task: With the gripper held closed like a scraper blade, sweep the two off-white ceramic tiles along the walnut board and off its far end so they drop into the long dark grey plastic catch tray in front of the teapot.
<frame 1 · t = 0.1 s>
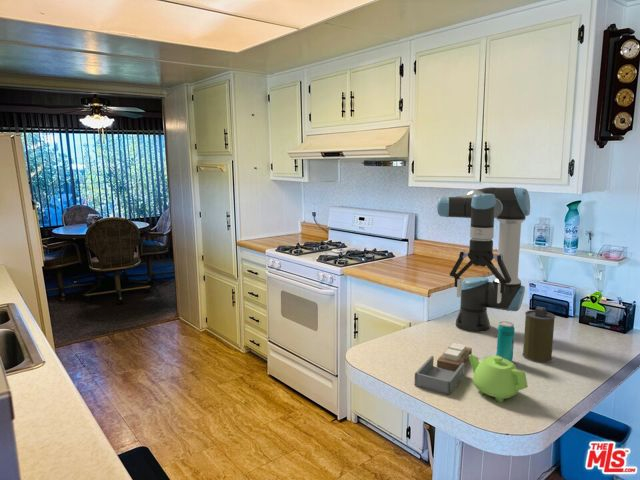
hand: (478, 299, 155), 28 cm above the counter, fingers open, 13 cm apart
tile b: (452, 357, 167), point 3 cm above the counter, touching walnut board
canister: (537, 357, 173), on the counter
teapot: (495, 393, 146), on the counter
tile a: (457, 351, 172), point 3 cm above the counter, touching walnut board
beverage can: (504, 361, 170), on the counter
walnut board: (454, 361, 170), on the counter
catch tray: (439, 380, 155), on the counter
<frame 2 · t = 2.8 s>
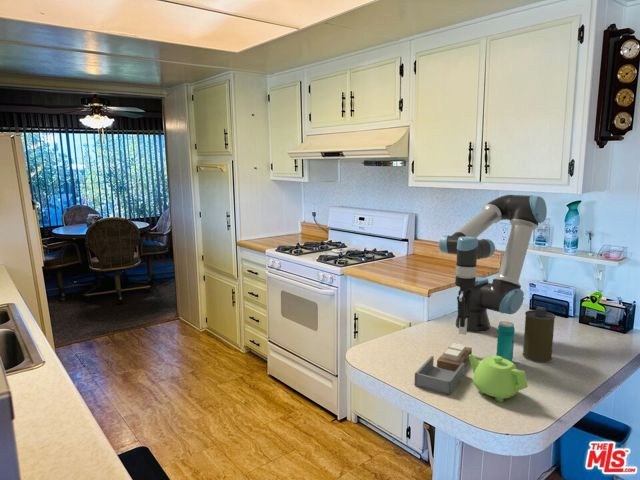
hand: (462, 333, 177), 8 cm above the counter, fingers closed
nothing on the counter moved.
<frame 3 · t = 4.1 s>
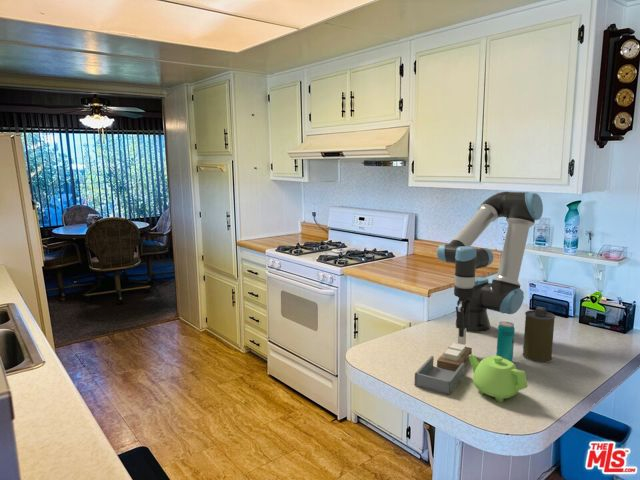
hand: (461, 343, 177), 4 cm above the counter, fingers closed
nothing on the counter moved.
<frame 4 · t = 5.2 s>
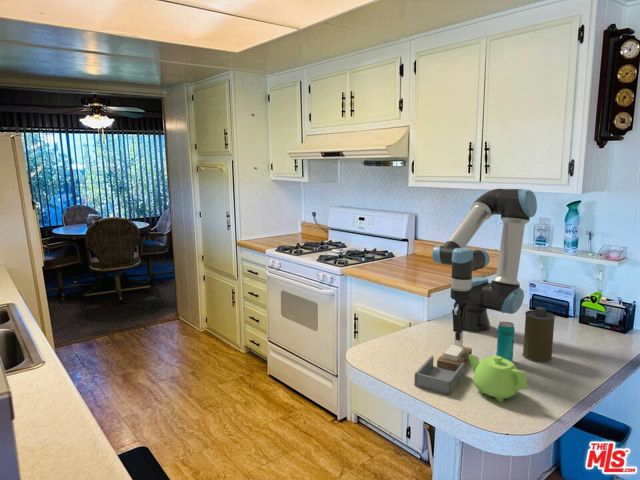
hand: (458, 347, 173), 4 cm above the counter, fingers closed
tile b: (452, 357, 166), point 3 cm above the counter, touching tile a
tile a: (456, 352, 171), point 3 cm above the counter, touching gripper, tile b
everything else where it was.
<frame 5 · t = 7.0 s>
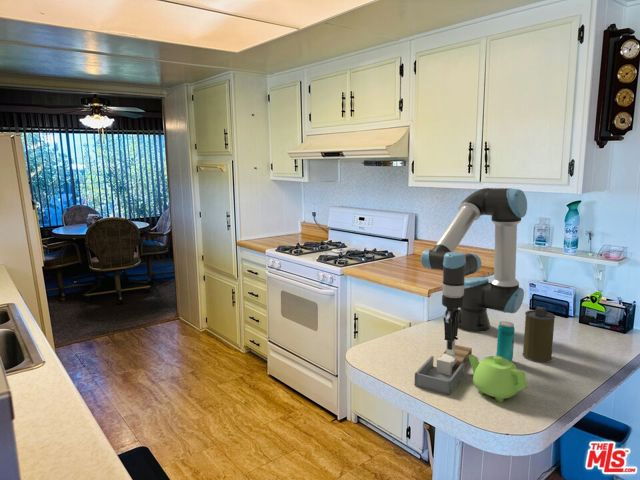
hand: (450, 356, 165), 4 cm above the counter, fingers closed
tile b: (445, 365, 160), point 3 cm above the counter, tilted 94°, touching catch tray
tile a: (448, 362, 162), point 3 cm above the counter, touching gripper
everything else where it was.
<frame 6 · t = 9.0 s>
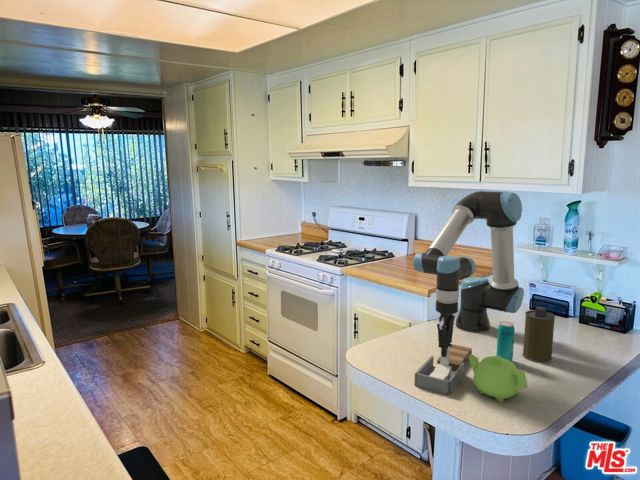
hand: (444, 364, 159), 4 cm above the counter, fingers closed
tile b: (437, 376, 152), point 2 cm above the counter, tilted 180°, touching catch tray, tile a
tile a: (442, 374, 157), point 1 cm above the counter, tilted 17°, touching catch tray, gripper, tile b
everything else where it was.
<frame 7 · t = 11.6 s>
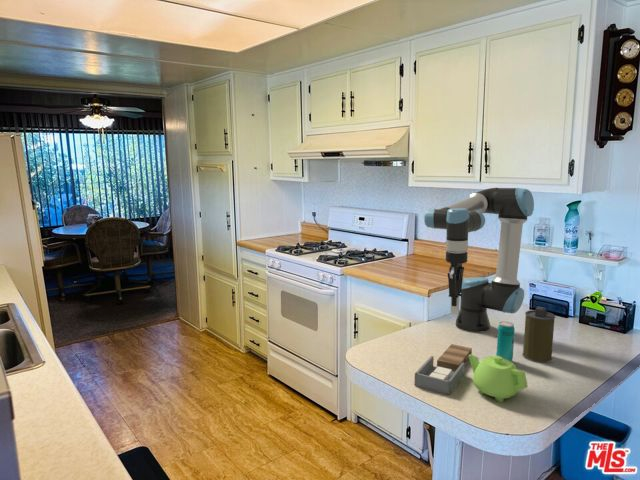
hand: (454, 313, 164), 20 cm above the counter, fingers closed
tile b: (436, 376, 152), point 2 cm above the counter, tilted 180°, touching catch tray
tile a: (442, 375, 157), resting on catch tray
everything else where it was.
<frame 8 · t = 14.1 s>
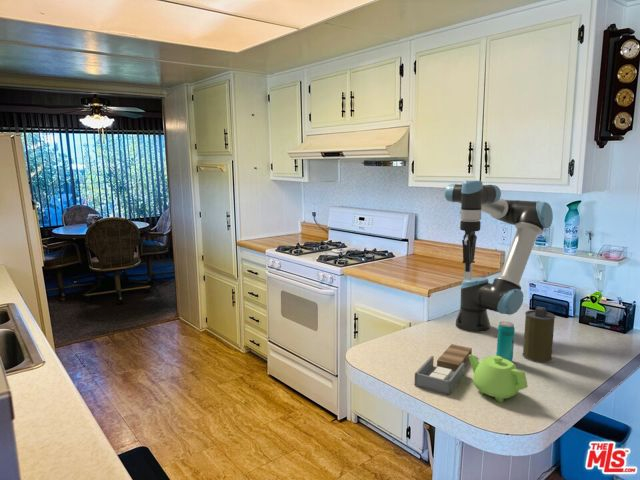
hand: (467, 279, 177), 29 cm above the counter, fingers closed
nothing on the counter moved.
at the end: tile a inside the target area on the catch tray (3.0 cm from its centre), point 0.5 cm above the catch tray's base; tile b inside the target area on the catch tray (2.5 cm from its centre), point 2.5 cm above the catch tray's base; tile a touching catch tray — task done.
